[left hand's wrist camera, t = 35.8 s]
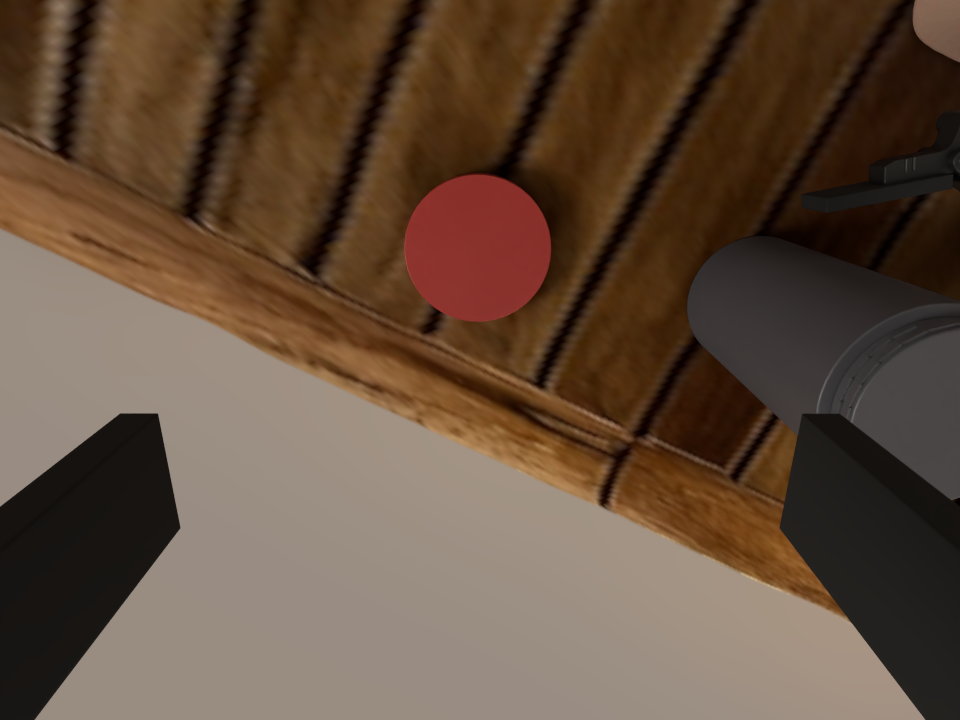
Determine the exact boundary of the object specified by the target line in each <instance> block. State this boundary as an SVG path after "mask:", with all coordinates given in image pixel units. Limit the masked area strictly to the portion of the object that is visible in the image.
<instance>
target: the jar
mask: <svg viewBox="0 0 960 720" xmlns="http://www.w3.org/2000/svg"><path fill="white" fill-rule="evenodd" d="M687 313H688V320H689V324H690V327H691V329H692V332H693V334H694V335H695V337H696V339H697V340H698V341H699V342H700V343H701V345H702V346H703V347H705V348H706V349H707V350H708V351H709V352H710V353H711V354H712V355H713V356H714V357H715V358H716V359H717V360H718V361H719V362H720V363H721V364H722V365H724V366H725V367H726V368H727V369H728V370H729V371H730V372H731V373H732V374H733V375H734V376H735V377H736V378H737V379H738V380H739V381H740V382H742V383H743V384H744V385H745V386H746V387H747V388H748V389H749V390H750V391H751V392H752V393H753V394H754V395H755V396H756V397H757V398H758V399H759V400H761V401H762V402H763V403H764V404H765V405H766V406H767V407H768V408H769V409H770V410H771V411H772V412H773V413H774V414H775V415H776V416H777V417H778V418H780V419H781V420H782V421H783V422H784V423H785V424H786V425H787V426H788V427H789V428H790V429H791V430H792V431H793V432H794V433H795V434H796V435H798V432H799V427H800V422H801V417H802V414H841V415H842V416H843V417H845V418H846V419H847V420H849V421H850V422H851V423H852V424H854V425H855V426H856V427H858V428H859V429H860V430H862V431H863V432H864V433H865V434H867V435H868V436H869V437H871V438H872V439H873V440H874V441H876V442H877V443H878V444H880V445H881V446H882V447H883V448H885V449H886V450H887V451H889V452H890V453H891V454H892V455H894V456H895V457H896V458H898V459H899V460H900V461H901V462H903V463H904V464H905V465H907V466H908V467H909V468H910V469H912V470H913V471H914V472H916V473H917V474H918V475H920V476H921V477H922V478H923V479H925V480H926V481H927V482H929V483H930V484H931V485H932V486H934V487H935V488H936V489H938V490H939V491H940V492H941V493H943V494H944V495H945V496H947V497H948V498H949V499H950V500H952V499H956V498H959V497H960V301H959V300H956V299H953V298H950V297H948V296H945V295H942V294H939V293H936V292H933V291H930V290H927V289H924V288H921V287H919V286H916V285H913V284H910V283H907V282H904V281H901V280H898V279H895V278H893V277H890V276H887V275H884V274H881V273H878V272H875V271H872V270H869V269H866V268H864V267H861V266H858V265H855V264H852V263H849V262H846V261H843V260H840V259H838V258H835V257H832V256H829V255H826V254H823V253H820V252H817V251H814V250H812V249H809V248H806V247H803V246H800V245H797V244H794V243H791V242H788V241H785V240H783V239H780V238H776V237H770V236H753V237H748V238H743V239H740V240H737V241H734V242H732V243H730V244H728V245H726V246H725V247H723V248H721V249H720V250H718V251H717V252H716V253H715V254H713V255H712V256H711V257H710V258H709V259H708V260H707V261H706V262H705V263H704V265H703V266H702V267H701V268H700V270H699V271H698V273H697V275H696V276H695V278H694V281H693V283H692V285H691V288H690V291H689V295H688V301H687Z"/></svg>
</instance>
